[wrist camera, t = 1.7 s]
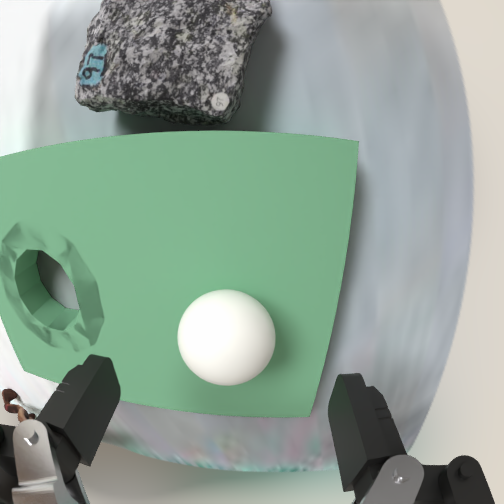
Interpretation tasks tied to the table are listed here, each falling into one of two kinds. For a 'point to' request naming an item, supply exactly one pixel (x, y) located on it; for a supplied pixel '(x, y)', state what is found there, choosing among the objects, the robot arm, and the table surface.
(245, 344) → the ball
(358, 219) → the table surface
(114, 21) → the rock
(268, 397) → the green
